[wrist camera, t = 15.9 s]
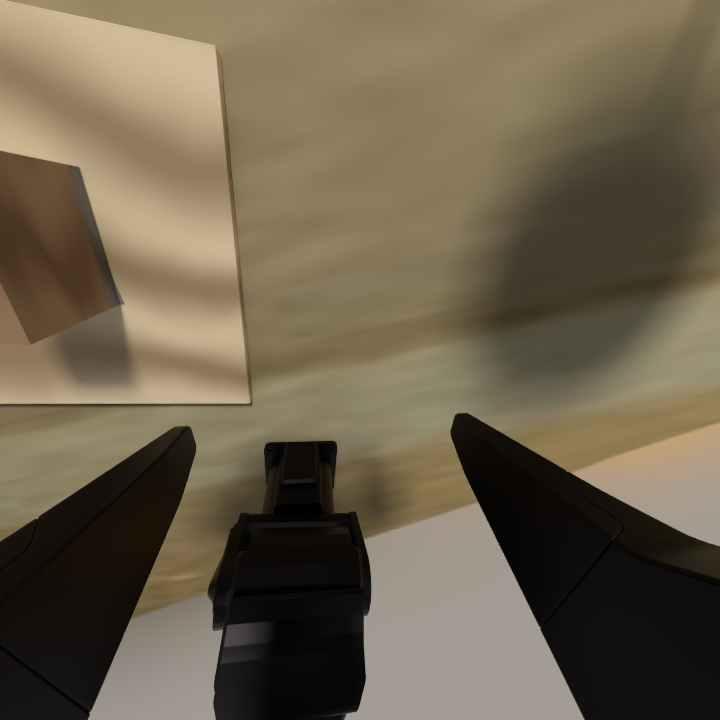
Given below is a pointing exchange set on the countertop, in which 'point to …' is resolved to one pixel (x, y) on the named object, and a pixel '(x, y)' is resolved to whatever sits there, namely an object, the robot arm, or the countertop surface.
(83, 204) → the block
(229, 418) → the countertop surface
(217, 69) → the birch board
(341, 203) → the countertop surface
